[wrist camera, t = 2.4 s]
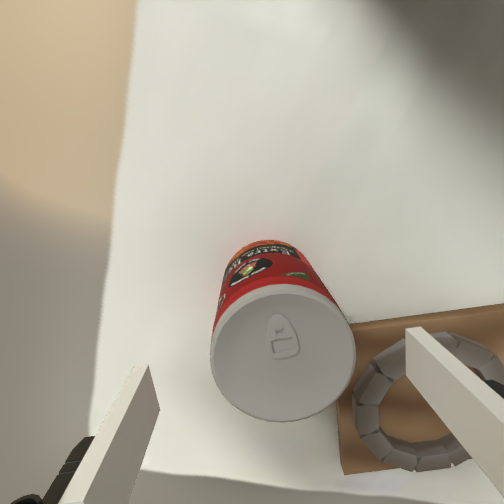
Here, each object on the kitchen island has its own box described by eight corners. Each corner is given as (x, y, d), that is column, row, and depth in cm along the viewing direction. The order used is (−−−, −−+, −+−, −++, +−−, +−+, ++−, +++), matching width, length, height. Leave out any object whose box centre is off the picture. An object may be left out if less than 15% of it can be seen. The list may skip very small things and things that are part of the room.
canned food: (289, 221, 25) (322, 262, 14) (327, 302, 27) (380, 390, 16) (206, 262, 26) (179, 329, 15) (249, 337, 28) (251, 444, 17)
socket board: (330, 326, 28) (339, 343, 25) (509, 302, 27) (537, 317, 25) (340, 463, 32) (349, 490, 29) (495, 444, 32) (518, 468, 29)
